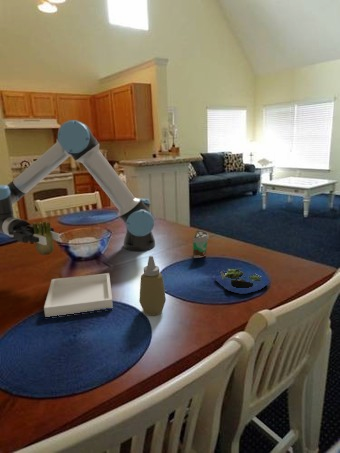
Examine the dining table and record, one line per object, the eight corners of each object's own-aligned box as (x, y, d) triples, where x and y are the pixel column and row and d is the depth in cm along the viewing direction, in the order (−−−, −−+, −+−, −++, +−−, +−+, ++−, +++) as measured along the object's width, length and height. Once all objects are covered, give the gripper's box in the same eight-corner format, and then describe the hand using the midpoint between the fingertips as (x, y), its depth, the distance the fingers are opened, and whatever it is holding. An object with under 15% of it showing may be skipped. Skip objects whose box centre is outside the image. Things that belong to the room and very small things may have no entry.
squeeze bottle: (139, 304, 103) (137, 252, 98) (165, 303, 104) (163, 251, 99) (139, 319, 96) (137, 262, 91) (167, 317, 96) (165, 261, 91)
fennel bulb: (34, 254, 116) (30, 222, 113) (44, 250, 120) (40, 219, 117) (47, 256, 114) (43, 223, 111) (56, 252, 118) (53, 220, 115)
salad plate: (201, 277, 123) (201, 266, 122) (239, 268, 130) (240, 257, 129) (232, 299, 106) (232, 287, 105) (274, 288, 114) (275, 276, 112)
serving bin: (109, 281, 120) (109, 273, 119) (112, 309, 101) (112, 299, 100) (53, 288, 116) (51, 279, 115) (45, 318, 97) (43, 307, 96)
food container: (207, 261, 137) (207, 238, 134) (192, 260, 138) (193, 238, 135) (209, 250, 149) (210, 230, 146) (196, 250, 150) (196, 229, 147)
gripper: (39, 231, 133) (74, 242, 120) (-5, 243, 120) (29, 257, 107) (36, 214, 131) (72, 223, 118) (-8, 224, 118) (26, 235, 104)
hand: (51, 239), depth 112 cm, fingers closed on fennel bulb, 4 cm apart
